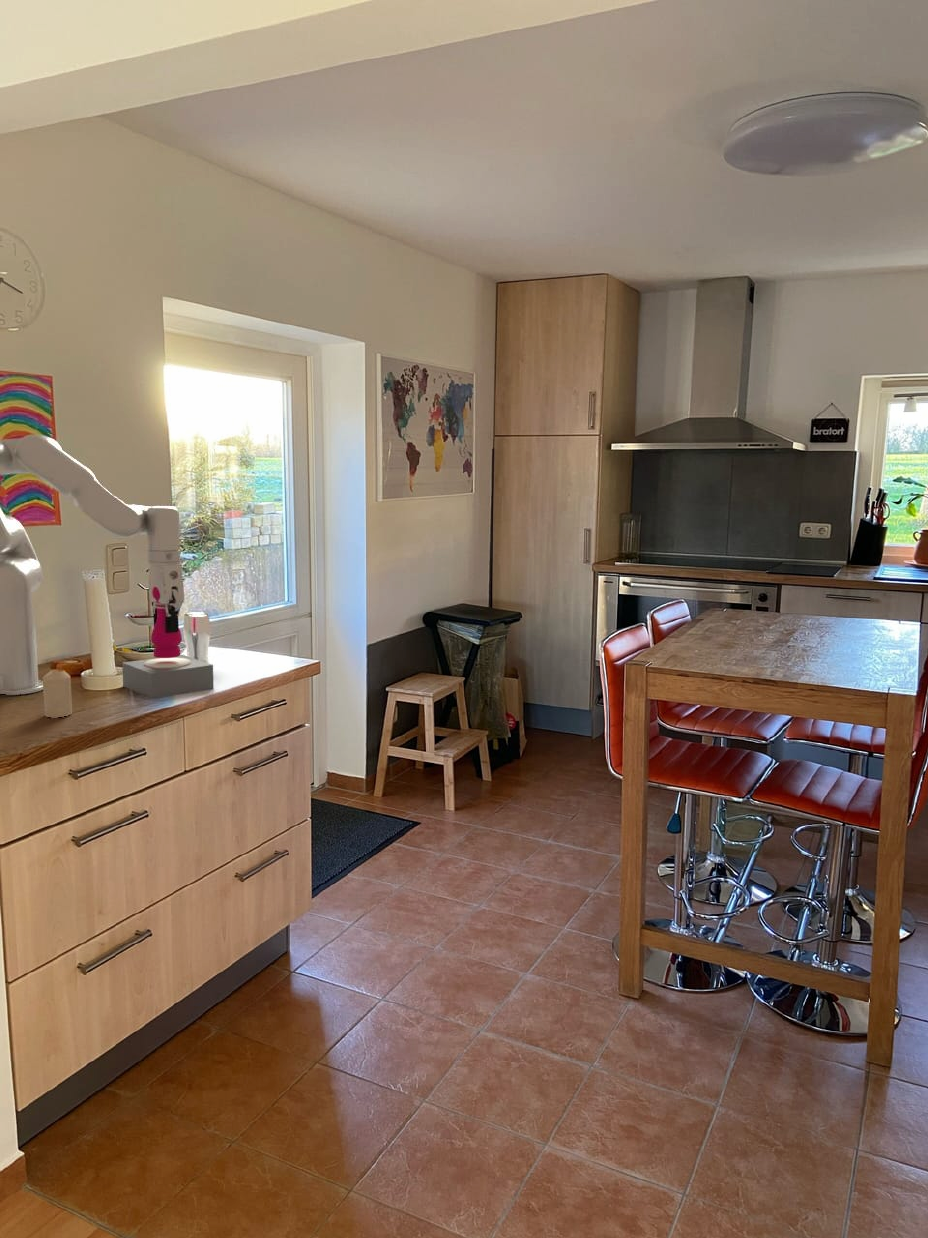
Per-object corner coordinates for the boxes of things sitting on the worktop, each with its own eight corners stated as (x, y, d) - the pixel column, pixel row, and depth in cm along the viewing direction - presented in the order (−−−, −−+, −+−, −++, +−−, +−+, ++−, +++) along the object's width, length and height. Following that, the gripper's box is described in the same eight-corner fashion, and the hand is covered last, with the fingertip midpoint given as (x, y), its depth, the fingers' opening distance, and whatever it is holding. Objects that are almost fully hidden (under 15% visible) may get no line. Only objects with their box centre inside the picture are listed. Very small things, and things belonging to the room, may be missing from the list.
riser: (152, 698, 213) (151, 672, 212) (123, 686, 224) (122, 661, 223) (213, 688, 224) (213, 663, 223) (182, 677, 235) (182, 653, 234)
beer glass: (184, 671, 242) (182, 616, 239) (184, 666, 248) (183, 612, 246) (211, 670, 243) (209, 616, 241) (211, 665, 250) (209, 612, 248)
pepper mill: (172, 659, 219) (170, 577, 216) (145, 657, 220) (143, 576, 217) (187, 654, 226) (185, 574, 223) (161, 652, 227) (159, 573, 224)
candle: (40, 714, 197) (38, 670, 196) (66, 710, 201) (64, 666, 199) (50, 720, 193) (47, 674, 192) (76, 715, 197) (74, 671, 196)
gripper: (195, 559, 216) (197, 634, 218) (162, 553, 228) (164, 624, 231) (165, 561, 210) (168, 637, 213) (133, 555, 222) (136, 627, 225)
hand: (166, 629), depth 222 cm, fingers closed on pepper mill, 5 cm apart
